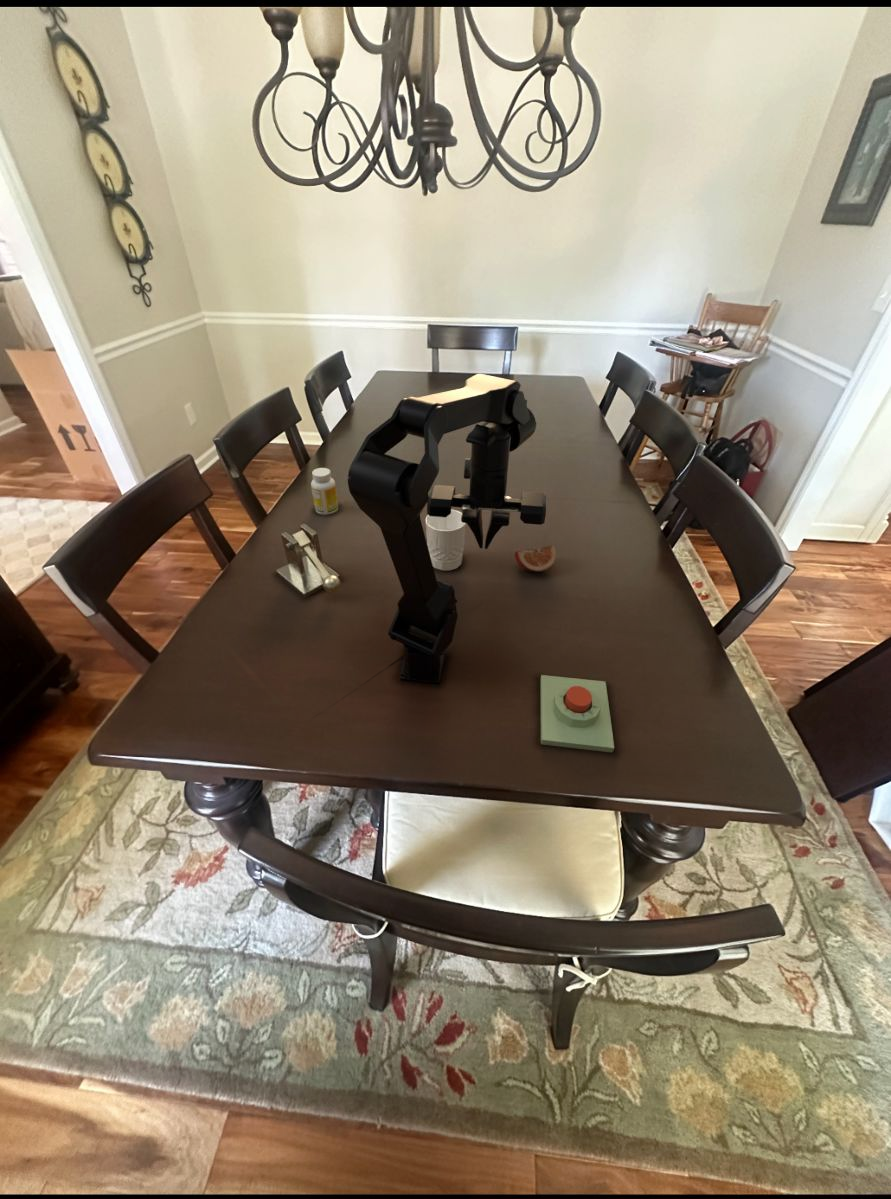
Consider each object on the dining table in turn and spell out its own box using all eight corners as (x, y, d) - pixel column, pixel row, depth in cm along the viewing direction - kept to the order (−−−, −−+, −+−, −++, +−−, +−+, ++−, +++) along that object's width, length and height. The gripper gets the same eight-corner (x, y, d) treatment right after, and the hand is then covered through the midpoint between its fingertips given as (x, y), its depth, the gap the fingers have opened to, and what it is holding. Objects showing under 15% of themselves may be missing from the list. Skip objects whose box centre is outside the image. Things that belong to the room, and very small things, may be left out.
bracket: (340, 579, 101) (333, 536, 94) (305, 598, 96) (295, 554, 90) (311, 557, 106) (302, 514, 99) (277, 574, 102) (265, 530, 95)
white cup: (461, 575, 102) (462, 533, 95) (422, 570, 103) (421, 528, 96) (467, 552, 108) (469, 511, 101) (431, 547, 109) (430, 506, 102)
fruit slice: (546, 555, 107) (549, 535, 104) (560, 575, 102) (564, 554, 99) (508, 562, 105) (510, 542, 102) (521, 582, 100) (523, 561, 97)
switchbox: (612, 752, 72) (617, 740, 70) (540, 744, 73) (543, 732, 71) (604, 686, 81) (608, 673, 79) (540, 679, 82) (542, 667, 80)
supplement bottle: (314, 516, 118) (307, 478, 112) (316, 504, 122) (309, 466, 116) (338, 515, 118) (332, 477, 112) (339, 503, 122) (334, 465, 116)
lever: (342, 590, 96) (345, 583, 94) (327, 598, 95) (330, 591, 92) (302, 536, 98) (305, 527, 95) (288, 543, 96) (290, 534, 94)
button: (590, 714, 74) (593, 707, 73) (565, 711, 74) (567, 704, 73) (588, 694, 77) (590, 687, 75) (564, 692, 77) (566, 684, 76)
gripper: (550, 444, 83) (538, 526, 94) (436, 437, 85) (436, 518, 95) (551, 477, 75) (538, 562, 85) (425, 468, 77) (427, 553, 87)
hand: (483, 547), depth 89 cm, fingers closed
